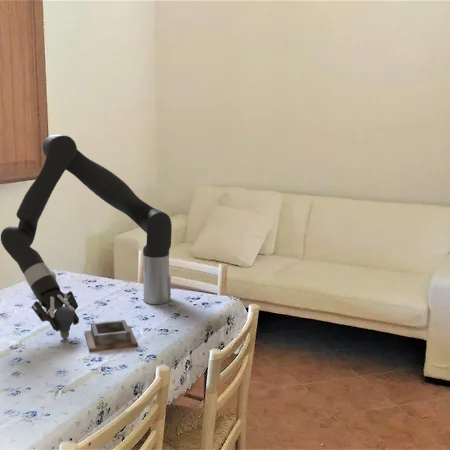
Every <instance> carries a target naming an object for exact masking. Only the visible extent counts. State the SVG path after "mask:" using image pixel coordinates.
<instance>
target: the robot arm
mask: <svg viewBox="0 0 450 450" xmlns="http://www.w3.org/2000/svg"><path fill="white" fill-rule="evenodd" d="M42 150H43V154H44V156H45V160H44V163H43V166H42V168H41V170H40V172H39V174H38V176H37V177H36V179H35V180H34V181H33V182H32V183H31V185H30V186H29V188H28V189H27V191H26V193H25V194H24V196H23V198H22V200H21V203H20V204H19V207H18V208H17V211H16V217H17V218H18V220H19V222H18V225H17V226H13V225H12V226H6V227H4V228H3V229H2V231H1V233H0V242H1V245H2V247H3V248H4V250H5V251H6V253H8V254H9V255H10V257H11V258H12V260H14V261H15V262H16V263H17V265H18V267H19V269H20V271H21V272H22V274H23V276H24V278H25V280H26V282H27V284H28V286H29V287H30V289H31V291H32V294H33V295H34V296H35V299H37V301H35V302H34V303H33V304H32V305H31V309H32V310H33V311H34V313H35V315H37V317H38V318H39V320H40V321H41V322H48V323H49V324H50V326H51V328H52V329H53V330H54V331H56V332H60V331H59V330H60V329H61V326H60V324H59V322H58V321H57V319H56V317H55V318H54V313H55V311H56V310H57V309H58V308H60V307H68V308H70V309H71V310H72V311H73V312H74V321H73V322H72V324H73V325H74V326H76V325H78V324H79V323H80V318H79V316H78V314H77V313H76V310H77V308H79V304H78V302H77V300H76V298H75V295H74V294H73V291H70V290H69V291H68V292H67V293H64V292H62V290H61V288H60V285H59V283H58V281H57V279H56V280H55V278H54V276H53V275H52V273H51V271H50V270H51V269H50V268H49V267H48V266H47V264H46V263H45V262H44V259H43V258H42V257H41V254H40V253H39V252H38V251H37V250H36V249H34V248H32V247H31V246H32V244H33V243H34V240H35V237H36V234H37V233H36V232H37V228H38V223H39V220H40V218H41V216H42V215H43V212H44V210H45V207H46V205H47V204H48V202H49V199H50V197H51V196H52V193H53V191H54V190H55V187H56V186H57V184H58V183H59V181H60V179H61V177H62V176H63V175H64V174H65V171H68V173H70V174H72V175H73V176H74V177H75V178H76V179H78V180H79V181H80V182H81V183H82V184H83V185H84V186H85V187H86V188H87V189H89V190H90V191H91V192H93V193H94V194H95V195H96V196H97V197H99V198H100V199H101V200H103V201H104V202H105V203H106V204H108V205H110V206H111V207H112V208H114V209H116V210H117V211H120V212H121V213H123V214H124V215H126V216H127V217H128V218H130V219H131V220H132V221H133V222H134V223H136V225H137V226H138V227H140V229H141V230H142V231H143V232H145V233H146V245H145V246H143V249H142V259H143V260H142V262H143V263H142V264H143V267H142V268H143V271H142V272H143V277H142V278H143V301H144V303H146V304H149V305H163V304H166V303H168V302H172V300H171V295H172V294H171V292H172V291H171V290H172V289H171V288H172V287H171V286H172V285H171V284H172V283H171V279H172V278H171V275H170V248H171V247H172V219H171V218H170V215H168V214H167V213H166V212H164V211H162V210H159V209H157V208H154V207H153V206H151V205H149V203H147V202H145V201H143V200H142V199H141V198H140V197H139V196H137V194H135V192H134V191H133V190H132V188H130V186H129V185H128V184H127V183H126V182H124V180H122V179H121V178H120V177H118V176H117V175H116V174H115V173H113V171H111V170H109V169H108V168H107V167H105V166H102V165H101V164H98V163H97V162H95V161H94V160H92V159H90V158H88V157H87V156H86V155H84V154H83V153H82V152H81V151H80V150H79V149H78V147H77V144H76V141H75V140H74V139H73V138H72V137H71V136H68V135H66V134H58V133H57V134H51V135H49V136H48V137H45V140H43V143H42ZM49 269H50V270H49Z"/></svg>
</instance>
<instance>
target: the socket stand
mask: <svg viewBox="0 0 450 450" xmlns="http://www.w3.org/2000/svg"><path fill="white" fill-rule="evenodd" d="M83 333H84V337H85V341H86V344H87V347H88V352H89V353H93V352H100V351H110V350H119V349H127V348H136V347H139V343H138V341H137V338H136V336H135V334H134V332H133V331H132V328H131V326H128V324H127V322H126V320H125V319H120V320H111V321H103V322H102V321H101V322H100V321H99V322H91V323H90V330H85V331H84V332H83Z"/></svg>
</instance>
